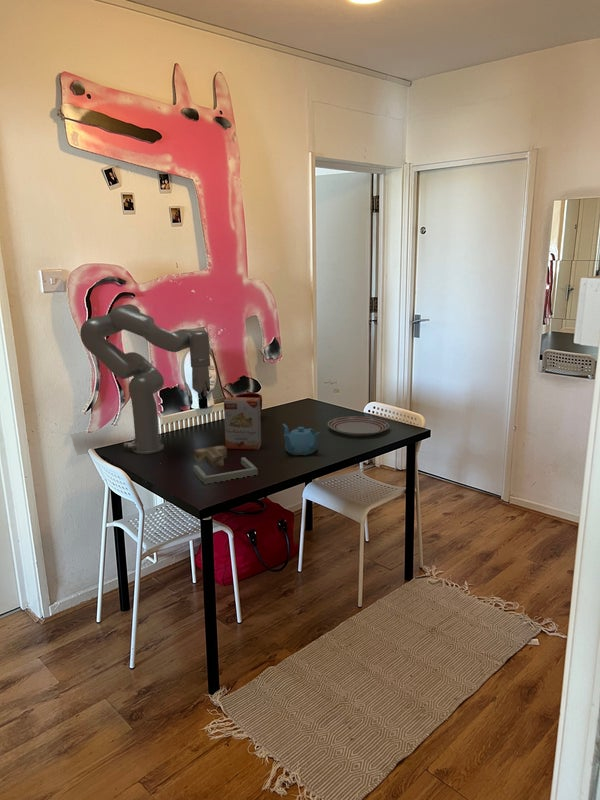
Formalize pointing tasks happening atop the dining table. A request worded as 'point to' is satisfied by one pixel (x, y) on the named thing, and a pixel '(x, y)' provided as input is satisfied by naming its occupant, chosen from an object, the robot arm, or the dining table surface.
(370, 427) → the dinner plate
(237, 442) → the cracker box
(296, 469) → the dining table surface
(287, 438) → the teapot
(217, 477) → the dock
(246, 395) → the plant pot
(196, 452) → the t block
